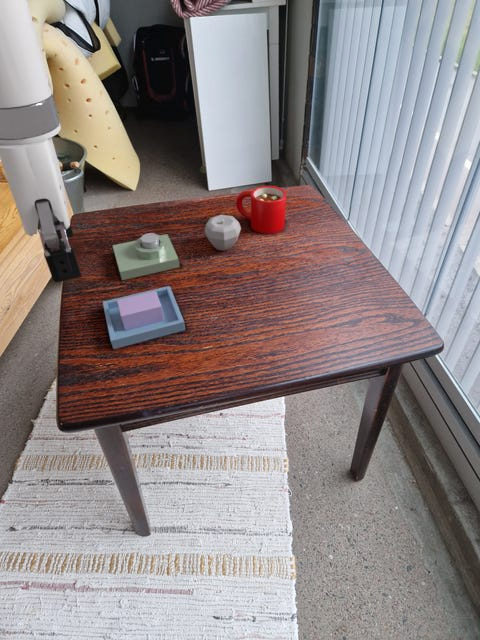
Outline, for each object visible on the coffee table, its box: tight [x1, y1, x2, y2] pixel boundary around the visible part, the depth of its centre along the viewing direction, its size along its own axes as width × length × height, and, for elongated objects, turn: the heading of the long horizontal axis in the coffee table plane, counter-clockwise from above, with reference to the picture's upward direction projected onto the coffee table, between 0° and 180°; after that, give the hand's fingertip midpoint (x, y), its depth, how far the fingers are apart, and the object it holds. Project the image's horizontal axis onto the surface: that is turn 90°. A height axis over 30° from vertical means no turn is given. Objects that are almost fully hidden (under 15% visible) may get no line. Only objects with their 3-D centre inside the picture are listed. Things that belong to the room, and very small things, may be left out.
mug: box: [235, 185, 287, 235], centre depth 97 cm, size 8×12×8 cm, turn 67°
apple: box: [204, 214, 242, 252], centre depth 90 cm, size 8×8×7 cm
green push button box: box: [112, 233, 181, 281], centre depth 88 cm, size 12×10×4 cm
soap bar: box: [117, 291, 164, 330], centre depth 75 cm, size 7×4×4 cm, turn 111°
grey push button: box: [140, 232, 159, 249], centre depth 87 cm, size 4×4×2 cm
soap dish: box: [102, 285, 186, 350], centre depth 75 cm, size 13×11×2 cm
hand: (64, 256), depth 54 cm, fingers open, 9 cm apart
